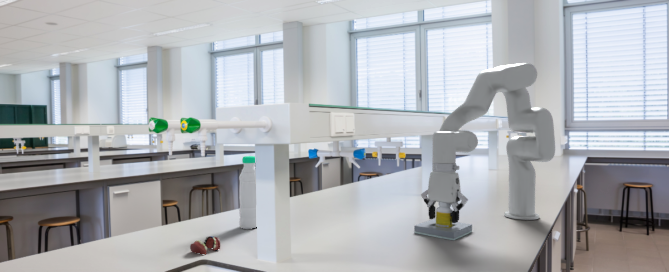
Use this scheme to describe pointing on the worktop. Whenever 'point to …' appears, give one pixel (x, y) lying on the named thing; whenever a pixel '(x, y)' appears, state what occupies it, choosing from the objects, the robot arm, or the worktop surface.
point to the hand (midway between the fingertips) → (443, 220)
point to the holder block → (443, 230)
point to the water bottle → (247, 194)
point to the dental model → (205, 245)
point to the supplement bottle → (444, 215)
